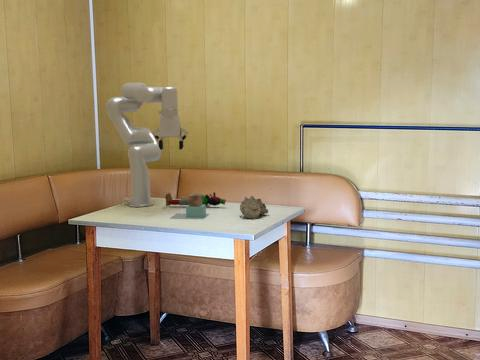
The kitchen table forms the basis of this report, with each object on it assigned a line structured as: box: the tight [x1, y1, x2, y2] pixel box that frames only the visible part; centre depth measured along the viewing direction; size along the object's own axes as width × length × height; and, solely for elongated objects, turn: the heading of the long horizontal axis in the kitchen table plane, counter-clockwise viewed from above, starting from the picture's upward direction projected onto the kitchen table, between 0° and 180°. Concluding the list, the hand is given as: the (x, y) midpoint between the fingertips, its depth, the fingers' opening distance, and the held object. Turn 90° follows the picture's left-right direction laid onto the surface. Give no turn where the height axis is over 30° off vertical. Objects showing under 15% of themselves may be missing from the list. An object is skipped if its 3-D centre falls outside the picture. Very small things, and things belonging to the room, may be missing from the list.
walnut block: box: [187, 193, 203, 207], centre depth 273 cm, size 5×5×5 cm
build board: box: [169, 212, 210, 220], centre depth 275 cm, size 16×12×1 cm
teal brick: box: [185, 205, 207, 218], centre depth 274 cm, size 8×5×5 cm, turn 80°
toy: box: [165, 192, 227, 213], centre depth 300 cm, size 33×8×30 cm
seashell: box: [239, 195, 269, 220], centre depth 274 cm, size 11×14×10 cm
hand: (171, 149), depth 286 cm, fingers open, 9 cm apart
